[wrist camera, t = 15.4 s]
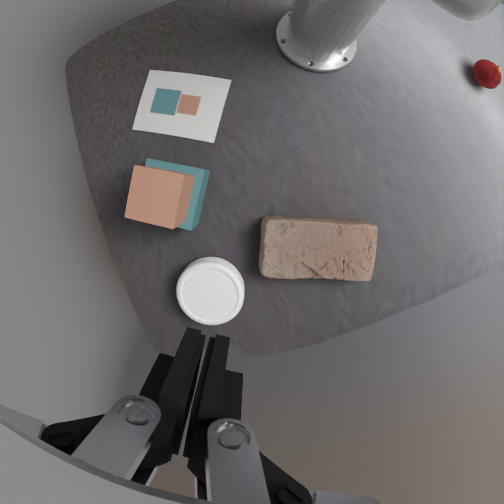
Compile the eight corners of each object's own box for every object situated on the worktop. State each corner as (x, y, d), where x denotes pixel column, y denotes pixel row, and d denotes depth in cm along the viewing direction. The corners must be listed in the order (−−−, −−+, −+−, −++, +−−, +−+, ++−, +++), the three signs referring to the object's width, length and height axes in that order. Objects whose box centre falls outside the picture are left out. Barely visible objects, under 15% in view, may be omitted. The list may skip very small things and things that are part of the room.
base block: (158, 160, 39) (146, 158, 34) (210, 170, 40) (204, 169, 35) (147, 212, 41) (135, 217, 36) (198, 224, 42) (191, 230, 37)
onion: (488, 85, 34) (513, 78, 26) (477, 96, 35) (504, 89, 27) (473, 60, 33) (497, 50, 25) (461, 70, 34) (486, 60, 26)
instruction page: (150, 70, 36) (149, 69, 35) (231, 80, 36) (231, 80, 36) (132, 129, 38) (131, 129, 38) (213, 143, 39) (213, 143, 39)
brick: (258, 270, 44) (259, 280, 39) (260, 214, 42) (261, 218, 37) (362, 272, 44) (373, 282, 39) (368, 219, 42) (380, 224, 37)
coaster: (251, 309, 45) (251, 319, 42) (191, 321, 46) (187, 331, 42) (235, 249, 43) (234, 255, 39) (172, 263, 43) (166, 270, 40)
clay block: (152, 166, 35) (134, 165, 29) (195, 175, 35) (184, 174, 29) (143, 211, 36) (124, 217, 30) (185, 221, 37) (172, 229, 31)
